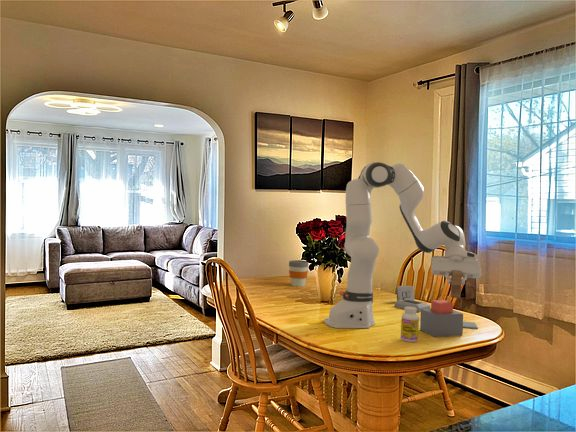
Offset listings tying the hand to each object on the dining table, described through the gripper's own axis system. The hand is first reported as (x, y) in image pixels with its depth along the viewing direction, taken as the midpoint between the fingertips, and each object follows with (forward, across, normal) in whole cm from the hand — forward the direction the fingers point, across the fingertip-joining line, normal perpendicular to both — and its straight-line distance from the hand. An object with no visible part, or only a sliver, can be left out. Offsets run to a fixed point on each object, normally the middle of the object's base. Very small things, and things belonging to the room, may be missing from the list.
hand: (456, 283), depth 197 cm
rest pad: (+4, +7, +25) cm, 26 cm away
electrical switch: (-24, -20, +54) cm, 62 cm away
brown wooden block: (+4, 0, +5) cm, 6 cm away
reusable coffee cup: (-44, -86, +76) cm, 123 cm away
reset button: (+10, -5, +8) cm, 14 cm away
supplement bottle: (+27, -18, +4) cm, 33 cm away
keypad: (-14, -16, +45) cm, 50 cm away
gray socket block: (+16, -5, +14) cm, 22 cm away
